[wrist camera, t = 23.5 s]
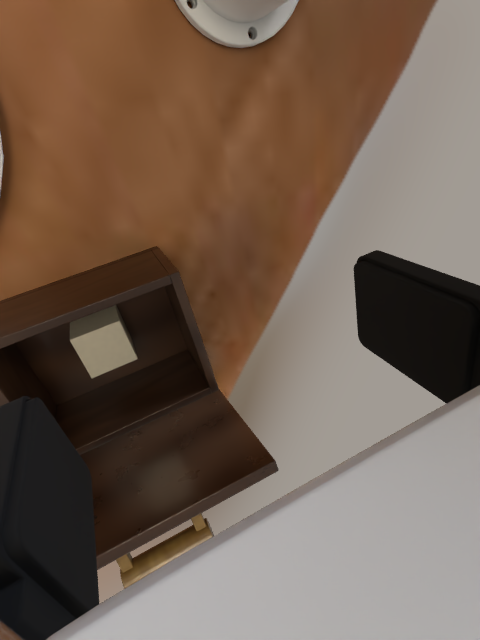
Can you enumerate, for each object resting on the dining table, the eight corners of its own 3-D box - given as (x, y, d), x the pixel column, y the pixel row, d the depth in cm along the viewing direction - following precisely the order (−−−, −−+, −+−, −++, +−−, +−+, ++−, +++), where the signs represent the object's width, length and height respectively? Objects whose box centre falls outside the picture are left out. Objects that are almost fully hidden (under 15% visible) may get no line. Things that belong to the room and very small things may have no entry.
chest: (-18, 306, 33) (-43, 354, 25) (157, 245, 36) (178, 271, 29) (53, 409, 39) (48, 469, 32) (194, 348, 43) (219, 390, 36)
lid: (-10, 613, 18) (37, 683, 20) (275, 460, 22) (299, 526, 23) (46, 470, 32) (72, 517, 33) (219, 389, 35) (236, 433, 37)
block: (69, 319, 35) (69, 340, 32) (114, 302, 36) (119, 320, 33) (89, 355, 38) (91, 378, 34) (131, 338, 39) (137, 359, 35)
